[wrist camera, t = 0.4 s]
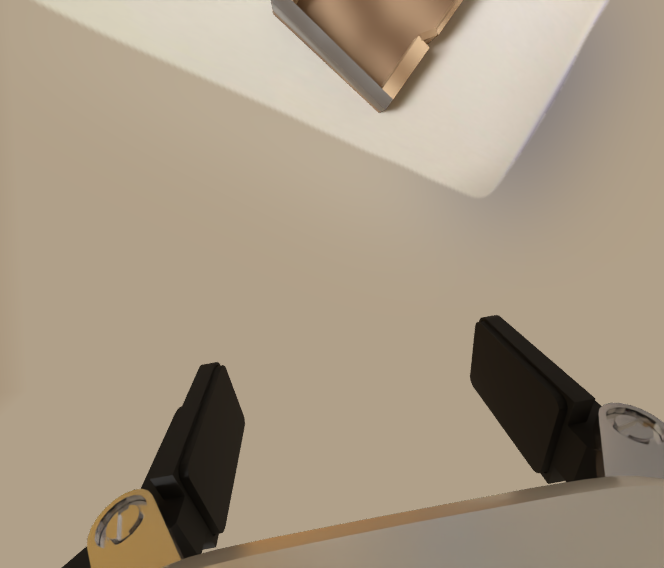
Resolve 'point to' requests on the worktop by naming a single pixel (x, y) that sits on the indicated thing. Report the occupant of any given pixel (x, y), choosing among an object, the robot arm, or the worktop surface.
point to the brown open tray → (368, 38)
